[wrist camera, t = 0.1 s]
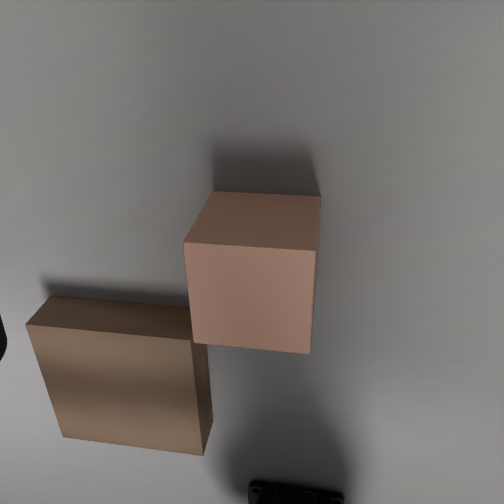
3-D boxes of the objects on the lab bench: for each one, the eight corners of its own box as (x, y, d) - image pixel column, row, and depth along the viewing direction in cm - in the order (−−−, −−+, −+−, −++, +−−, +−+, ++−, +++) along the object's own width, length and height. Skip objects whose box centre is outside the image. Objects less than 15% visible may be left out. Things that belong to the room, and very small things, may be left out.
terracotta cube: (315, 286, 24) (309, 354, 20) (219, 279, 25) (193, 342, 21) (321, 195, 22) (315, 251, 17) (213, 190, 22) (183, 242, 18)
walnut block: (214, 415, 31) (203, 456, 28) (85, 400, 32) (63, 437, 30) (205, 304, 26) (190, 340, 24) (54, 291, 28) (25, 324, 25)
